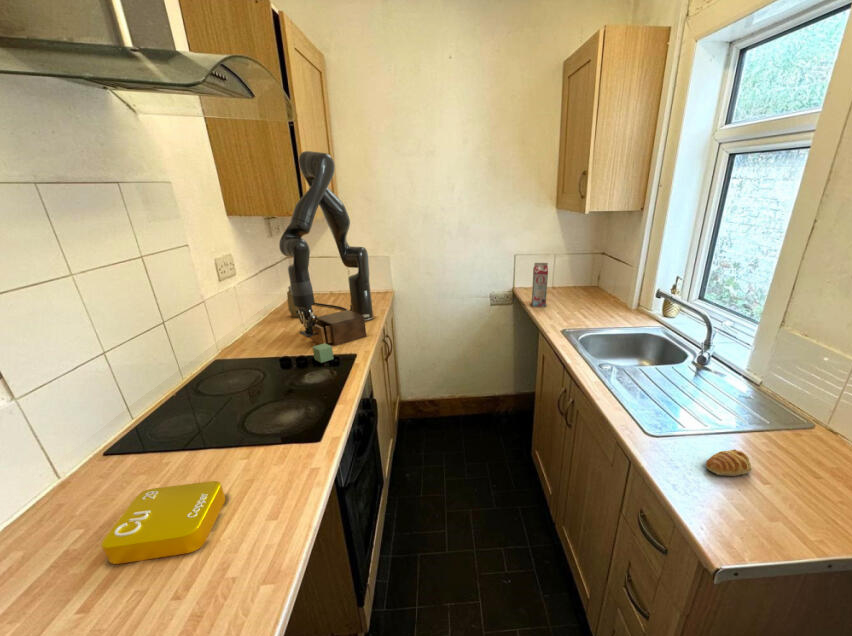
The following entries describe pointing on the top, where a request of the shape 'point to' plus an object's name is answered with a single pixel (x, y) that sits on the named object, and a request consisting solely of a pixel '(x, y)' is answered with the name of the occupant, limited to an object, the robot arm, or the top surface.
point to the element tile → (165, 522)
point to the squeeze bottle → (291, 304)
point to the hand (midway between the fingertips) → (310, 335)
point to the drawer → (320, 333)
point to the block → (323, 352)
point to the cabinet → (345, 326)
